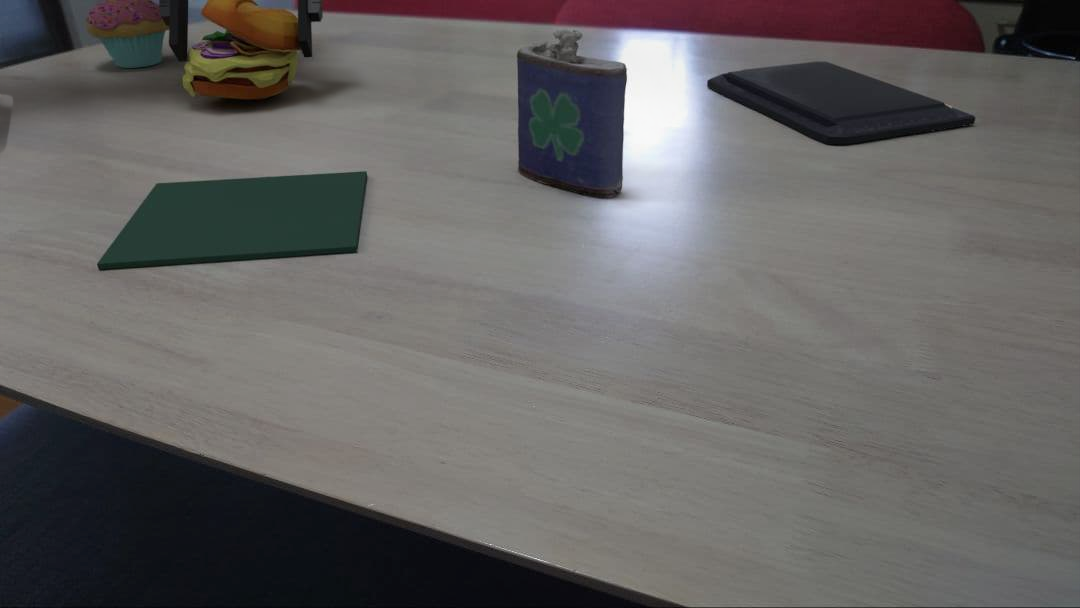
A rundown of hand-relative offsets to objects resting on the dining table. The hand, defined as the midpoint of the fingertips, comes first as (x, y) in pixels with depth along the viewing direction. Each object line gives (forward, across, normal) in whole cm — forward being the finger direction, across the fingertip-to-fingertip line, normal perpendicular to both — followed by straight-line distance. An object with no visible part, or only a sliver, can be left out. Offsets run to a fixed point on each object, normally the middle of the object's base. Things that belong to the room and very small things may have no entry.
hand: (242, 51), depth 75 cm
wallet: (+10, -53, +3) cm, 54 cm away
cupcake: (-10, +16, -18) cm, 26 cm away
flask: (+21, -26, +14) cm, 36 cm away
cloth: (+23, -4, +16) cm, 28 cm away
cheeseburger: (+1, +1, -5) cm, 5 cm away
